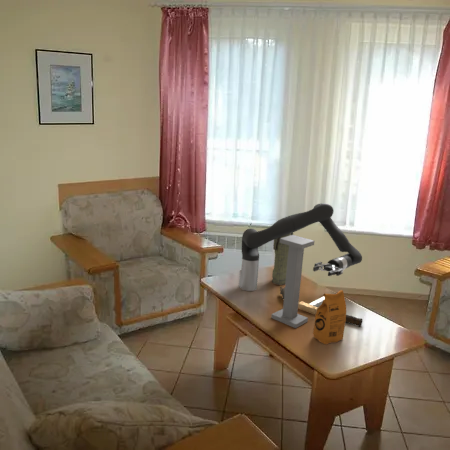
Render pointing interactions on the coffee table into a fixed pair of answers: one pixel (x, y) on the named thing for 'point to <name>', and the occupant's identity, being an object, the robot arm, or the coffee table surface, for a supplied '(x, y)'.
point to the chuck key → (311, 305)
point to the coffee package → (330, 318)
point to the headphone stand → (293, 281)
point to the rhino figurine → (282, 291)
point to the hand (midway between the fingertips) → (321, 271)
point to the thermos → (280, 261)
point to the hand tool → (354, 320)
